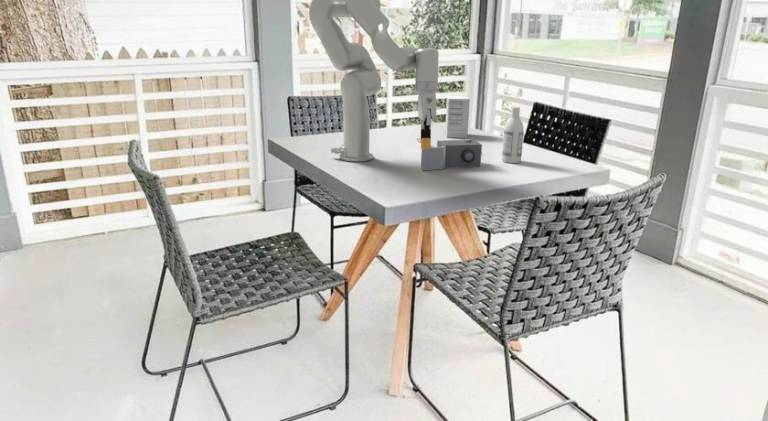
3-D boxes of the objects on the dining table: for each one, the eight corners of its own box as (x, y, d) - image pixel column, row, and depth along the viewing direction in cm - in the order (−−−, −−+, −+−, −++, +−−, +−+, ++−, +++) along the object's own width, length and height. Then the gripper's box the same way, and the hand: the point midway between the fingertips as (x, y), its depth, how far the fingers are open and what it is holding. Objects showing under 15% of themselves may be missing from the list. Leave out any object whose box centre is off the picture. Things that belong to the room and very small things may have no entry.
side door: (445, 168, 207) (447, 137, 203) (421, 171, 203) (423, 139, 200) (443, 168, 208) (445, 136, 204) (420, 170, 205) (421, 138, 201)
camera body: (443, 169, 207) (444, 145, 204) (436, 162, 216) (437, 139, 213) (481, 167, 209) (483, 143, 206) (473, 161, 218) (474, 138, 215)
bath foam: (518, 159, 222) (523, 105, 215) (522, 163, 215) (527, 108, 209) (500, 158, 222) (504, 105, 215) (503, 163, 215) (508, 108, 209)
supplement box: (467, 138, 257) (470, 99, 251) (446, 137, 257) (448, 98, 251) (465, 133, 266) (467, 95, 260) (444, 133, 266) (446, 95, 260)
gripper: (442, 89, 191) (440, 144, 197) (433, 83, 205) (432, 136, 211) (419, 89, 191) (418, 145, 196) (412, 84, 205) (411, 136, 210)
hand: (425, 140), depth 204 cm, fingers closed
